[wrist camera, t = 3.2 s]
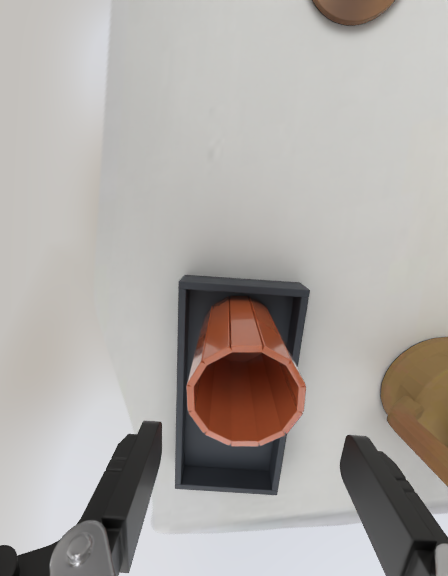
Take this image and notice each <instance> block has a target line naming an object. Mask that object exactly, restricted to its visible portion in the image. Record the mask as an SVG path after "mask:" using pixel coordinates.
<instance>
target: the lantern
mask: <svg viewBox="0 0 448 576" xmlns="http://www.w3.org/2000/svg"><path fill="white" fill-rule="evenodd" d="M381 400H382V404H383V407H384V410H385V411H386V413H387V414H388V417H387V421H388V423H389V424H390V426H391V427H392V428H393V429H394V431H395V432H396V433H397V434H398V435H399V436H400V437H401V438H402V439H403V440H404V442H405V443H406V444H407V445H408V446H409V447H410V448H411V449H412V450H413V451H414V452H415V453H416V454H417V455H418V456H419V457H420V458H421V459H422V460H423V461H424V462H425V463H426V464H427V466H428V467H429V468H430V469H431V470H432V471H433V472H434V473H435V474H436V475H437V476H438V477H439V478H440V479H441V480H442V481H443V482H444V483H445V484H446V485H447V486H448V337H442V338H433V339H430V340H426V341H423V342H421V343H419V344H416V345H414V346H412V347H410V348H409V349H408V350H406V351H405V352H404V353H402V354H401V355H400V356H399V357H398V358H397V359H396V360H395V361H394V362H393V363H392V364H391V366H390V367H389V369H388V370H387V372H386V374H385V377H384V379H383V382H382V387H381Z"/></svg>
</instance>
